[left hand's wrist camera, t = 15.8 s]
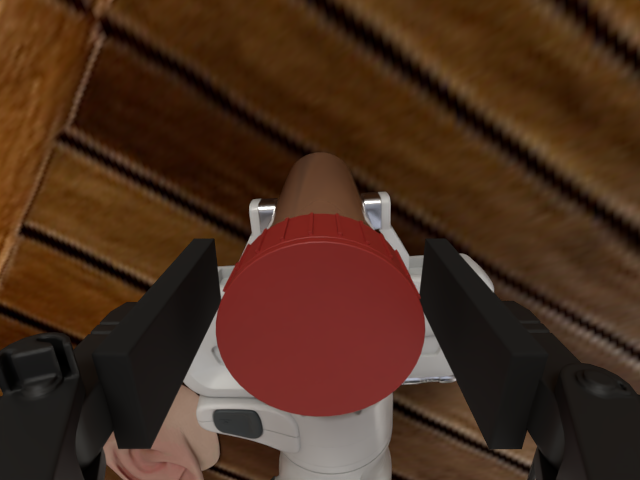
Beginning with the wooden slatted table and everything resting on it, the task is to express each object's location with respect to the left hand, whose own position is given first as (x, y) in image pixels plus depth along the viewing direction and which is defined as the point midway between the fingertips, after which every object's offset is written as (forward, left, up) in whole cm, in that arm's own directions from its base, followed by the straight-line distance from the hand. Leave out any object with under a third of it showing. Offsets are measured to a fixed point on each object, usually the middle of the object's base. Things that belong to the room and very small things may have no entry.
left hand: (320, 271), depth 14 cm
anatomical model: (+2, +29, -14) cm, 32 cm away
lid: (0, 0, +4) cm, 4 cm away
